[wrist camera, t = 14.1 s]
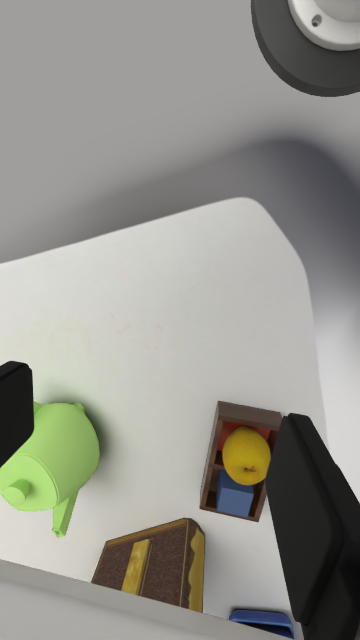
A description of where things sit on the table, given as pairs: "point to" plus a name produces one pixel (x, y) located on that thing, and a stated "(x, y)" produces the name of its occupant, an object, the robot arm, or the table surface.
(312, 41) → the robot arm
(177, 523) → the book
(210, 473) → the tray
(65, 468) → the teapot
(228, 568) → the table surface
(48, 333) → the table surface
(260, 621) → the flower pot
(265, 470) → the apple
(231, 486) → the blue block
